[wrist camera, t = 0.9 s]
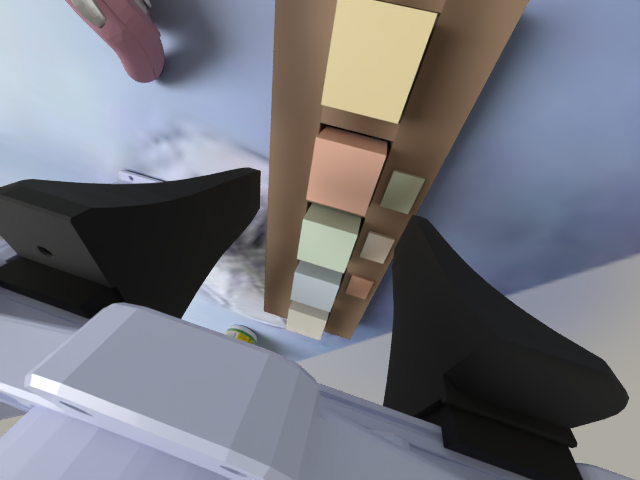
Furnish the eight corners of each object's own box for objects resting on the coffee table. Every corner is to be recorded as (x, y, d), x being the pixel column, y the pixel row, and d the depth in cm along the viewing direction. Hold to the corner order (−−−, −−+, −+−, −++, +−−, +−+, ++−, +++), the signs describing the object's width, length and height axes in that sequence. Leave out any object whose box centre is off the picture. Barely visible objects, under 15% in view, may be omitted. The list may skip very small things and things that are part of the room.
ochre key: (332, 97, 14) (320, 104, 12) (348, 5, 12) (338, -8, 9) (397, 114, 14) (397, 123, 12) (428, 22, 11) (437, 13, 9)
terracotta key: (316, 182, 18) (306, 199, 15) (327, 126, 15) (316, 137, 13) (368, 196, 17) (364, 216, 15) (387, 141, 15) (386, 155, 13)
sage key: (306, 238, 21) (296, 258, 19) (313, 200, 19) (303, 218, 16) (349, 251, 21) (343, 273, 19) (361, 214, 18) (357, 235, 16)
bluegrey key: (299, 278, 25) (290, 299, 23) (304, 251, 22) (294, 271, 20) (335, 290, 24) (329, 312, 22) (344, 263, 22) (339, 286, 20)
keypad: (272, 295, 31) (262, 313, 28) (295, -37, 12) (274, -58, 10) (352, 321, 30) (349, 342, 28) (507, 6, 11) (534, -6, 9)
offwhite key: (293, 308, 28) (285, 329, 26) (297, 288, 26) (288, 308, 24) (325, 318, 28) (319, 340, 26) (332, 299, 25) (326, 321, 23)
